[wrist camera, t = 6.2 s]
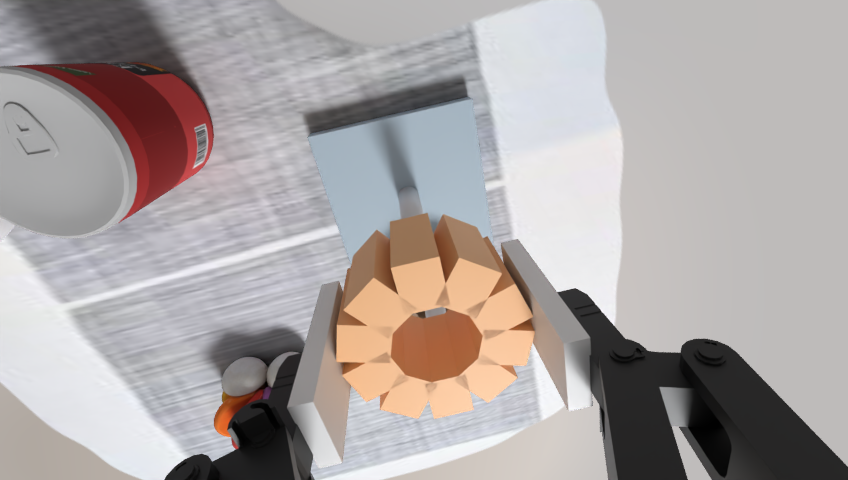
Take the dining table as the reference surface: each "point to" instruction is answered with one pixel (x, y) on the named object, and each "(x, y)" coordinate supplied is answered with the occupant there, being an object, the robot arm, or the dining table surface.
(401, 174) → the gear board
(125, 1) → the dining table surface
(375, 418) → the dining table surface
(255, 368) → the multicolored petal toy
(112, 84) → the canned food
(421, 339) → the gear
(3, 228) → the mug
